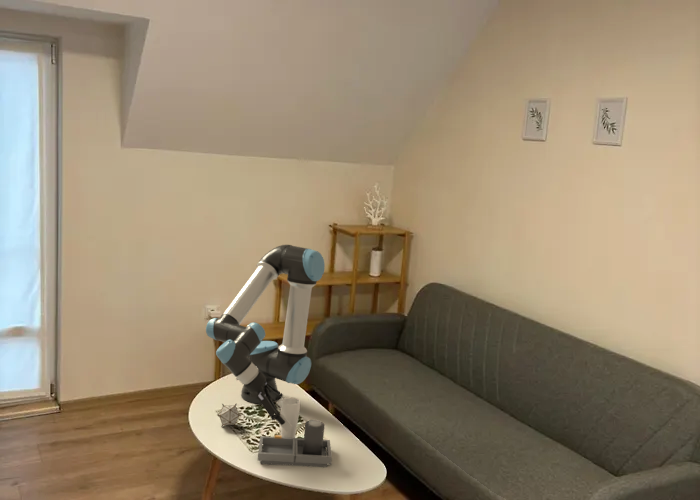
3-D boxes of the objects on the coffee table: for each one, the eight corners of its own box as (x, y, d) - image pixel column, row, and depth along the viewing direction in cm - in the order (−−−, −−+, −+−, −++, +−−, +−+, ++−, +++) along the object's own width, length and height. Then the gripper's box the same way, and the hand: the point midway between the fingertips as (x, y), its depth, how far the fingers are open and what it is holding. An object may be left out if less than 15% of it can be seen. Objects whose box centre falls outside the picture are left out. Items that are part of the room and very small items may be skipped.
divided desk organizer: (259, 444, 229) (262, 410, 226) (328, 448, 231) (332, 415, 229) (257, 463, 216) (260, 427, 214) (330, 467, 218) (334, 432, 216)
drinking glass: (293, 445, 231) (297, 406, 228) (275, 442, 232) (279, 402, 229) (299, 437, 237) (302, 398, 234) (281, 434, 238) (284, 395, 236)
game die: (222, 434, 241) (208, 411, 241) (240, 421, 246) (227, 398, 247) (231, 432, 234) (217, 408, 234) (249, 419, 239) (235, 395, 239)
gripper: (246, 371, 241) (283, 412, 245) (239, 398, 217) (281, 443, 220) (261, 359, 241) (298, 399, 245) (257, 384, 216) (298, 429, 220)
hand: (290, 420), depth 233 cm, fingers open, 13 cm apart
